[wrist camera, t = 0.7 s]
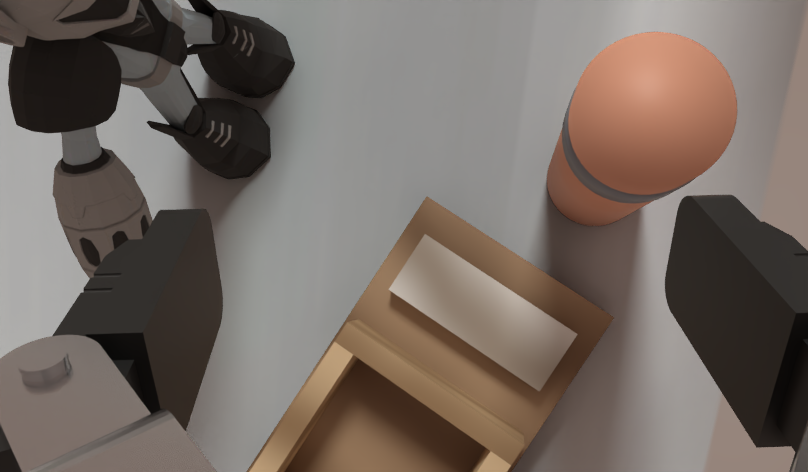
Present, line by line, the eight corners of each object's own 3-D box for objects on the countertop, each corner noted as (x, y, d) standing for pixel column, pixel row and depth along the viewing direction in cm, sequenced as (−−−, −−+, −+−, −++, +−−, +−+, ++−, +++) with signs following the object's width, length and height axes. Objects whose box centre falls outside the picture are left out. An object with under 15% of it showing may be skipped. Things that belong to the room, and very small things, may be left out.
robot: (243, -93, 37) (-56, -514, 17) (332, -77, 36) (124, -498, 17) (147, 275, 37) (-272, 269, 17) (235, 299, 36) (-96, 323, 16)
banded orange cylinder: (579, 114, 34) (627, 1, 20) (663, 164, 33) (772, 83, 20) (527, 193, 34) (539, 135, 20) (609, 245, 34) (679, 221, 20)
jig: (430, 199, 35) (420, 189, 31) (609, 315, 33) (622, 320, 29) (251, 472, 35) (219, 497, 31) (420, 599, 34) (408, 642, 30)
